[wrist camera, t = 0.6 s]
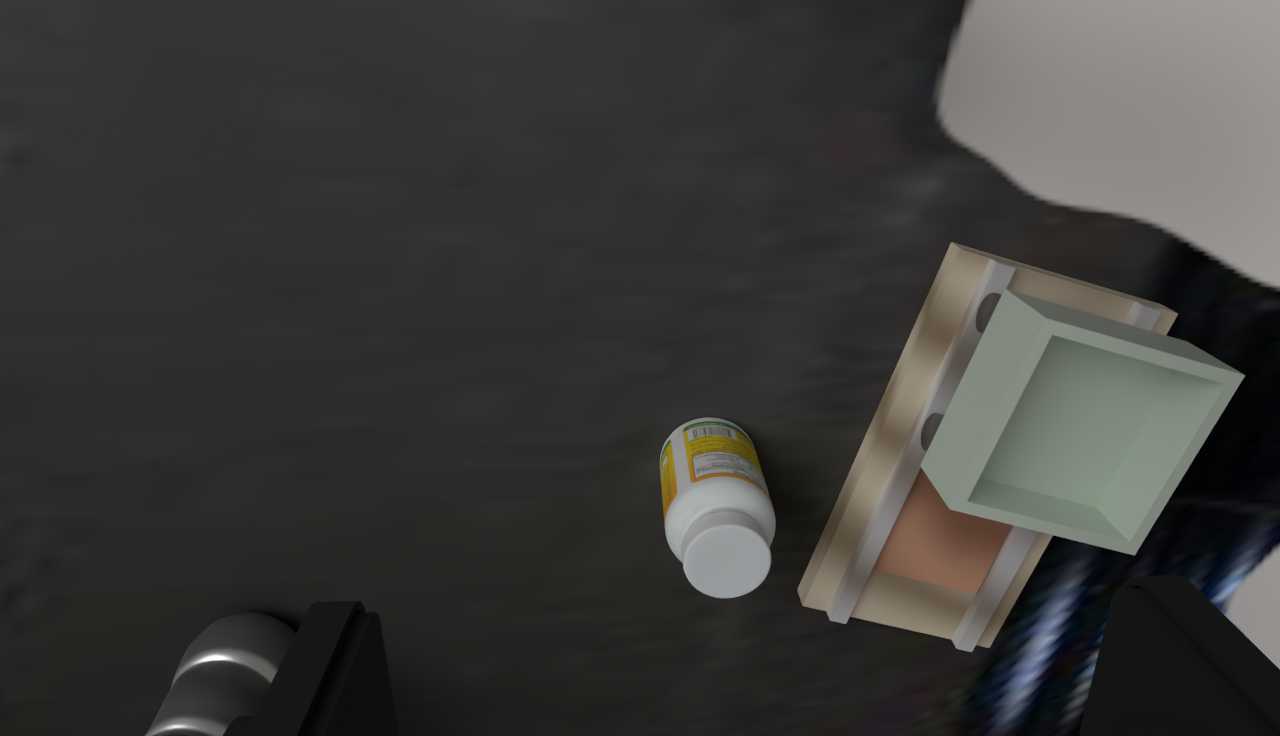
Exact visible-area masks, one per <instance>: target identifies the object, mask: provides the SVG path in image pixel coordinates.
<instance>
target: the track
mask: <svg viewBox="0 0 1280 736" xmlns="http://www.w3.org/2000/svg"><path fill="white" fill-rule="evenodd" d="M1004 289H1008V290H1011V291H1015V292H1018V293H1022V294H1025V295H1029V296H1032V297H1036V298H1039V299H1042V300H1046V301H1049V302H1053V303H1056V304H1060V305H1063V306H1067V307H1070V308H1073V309H1077V310H1080V311H1084V312H1087V313H1091V314H1094V315H1097V316H1101V317H1104V318H1108V319H1111V320H1115V321H1118V322H1122V323H1125V324H1128V325H1132V326H1135V327H1139V328H1142V329H1146V330H1149V331H1152V332H1156V333H1159V334H1163V335H1167V333H1168V331H1169V329H1170V328H1171V326H1172V324H1173V322H1174V320H1175V319H1176V317H1177V315H1178V313H1176V312H1174V311H1173V310H1171V309H1169V308H1167V307H1165V306H1163V305H1162V304H1159V303H1155V302H1152V301H1149V300H1145V299H1142V298H1139V297H1135V296H1132V295H1128V294H1125V293H1122V292H1118V291H1115V290H1112V289H1108V288H1105V287H1101V286H1098V285H1095V284H1091V283H1088V282H1085V281H1081V280H1078V279H1074V278H1071V277H1068V276H1064V275H1061V274H1058V273H1054V272H1051V271H1047V270H1044V269H1041V268H1037V267H1034V266H1031V265H1027V264H1024V263H1020V262H1017V261H1014V260H1010V259H1007V258H1004V257H1000V256H997V255H993V254H990V253H987V252H983V251H980V250H977V249H973V248H970V247H966V246H963V245H960V244H956V243H953V242H951V244H950V246H949V248H948V251H947V253H946V255H945V257H944V260H943V262H942V264H941V266H940V269H939V271H938V273H937V275H936V278H935V280H934V282H933V284H932V287H931V289H930V291H929V293H928V296H927V298H926V300H925V302H924V305H923V307H922V309H921V312H920V314H919V316H918V318H917V321H916V323H915V325H914V327H913V330H912V332H911V334H910V336H909V339H908V341H907V343H906V345H905V348H904V350H903V352H902V354H901V357H900V359H899V361H898V363H897V366H896V368H895V370H894V372H893V375H892V377H891V379H890V381H889V384H888V386H887V388H886V390H885V393H884V395H883V397H882V400H881V402H880V404H879V406H878V409H877V411H876V413H875V415H874V418H873V420H872V422H871V424H870V427H869V429H868V431H867V433H866V436H865V438H864V440H863V442H862V445H861V447H860V449H859V451H858V454H857V456H856V458H855V460H854V463H853V465H852V467H851V469H850V472H849V474H848V476H847V478H846V481H845V483H844V485H843V488H842V490H841V492H840V494H839V497H838V499H837V501H836V503H835V506H834V508H833V510H832V512H831V515H830V517H829V519H828V521H827V524H826V526H825V528H824V530H823V533H822V535H821V537H820V539H819V542H818V544H817V546H816V548H815V551H814V553H813V555H812V557H811V560H810V562H809V564H808V567H807V569H806V571H805V573H804V576H803V578H802V580H801V582H800V585H799V587H798V589H797V590H798V593H799V596H800V600H801V603H802V606H805V607H810V608H814V609H819V610H823V611H827V614H828V617H829V620H830V621H835V622H839V623H844V624H846V623H847V621H848V619H849V617H854V618H859V619H863V620H868V621H872V622H876V623H881V624H885V625H890V626H894V627H899V628H903V629H907V630H912V631H916V632H921V633H925V634H930V635H934V636H939V637H943V638H947V639H952V641H953V643H954V645H955V647H956V649H960V650H964V651H969V652H972V651H973V649H974V648H975V646H976V645H979V646H983V647H987V648H990V646H991V644H992V642H993V641H994V639H995V637H996V635H997V634H998V632H999V630H1000V628H1001V626H1002V625H1003V623H1004V621H1005V619H1006V618H1007V616H1008V614H1009V612H1010V611H1011V609H1012V607H1013V605H1014V603H1015V602H1016V600H1017V598H1018V596H1019V595H1020V593H1021V591H1022V589H1023V588H1024V586H1025V584H1026V582H1027V580H1028V579H1029V577H1030V575H1031V573H1032V572H1033V570H1034V568H1035V566H1036V565H1037V563H1038V561H1039V559H1040V557H1041V556H1042V554H1043V552H1044V550H1045V549H1046V547H1047V545H1048V543H1049V542H1050V540H1051V538H1052V536H1053V535H1051V534H1047V533H1043V532H1038V531H1034V530H1030V529H1026V528H1022V527H1018V526H1014V525H1010V524H1006V523H1002V522H998V521H994V520H990V519H986V518H982V517H978V516H974V515H970V514H966V513H962V512H958V511H954V510H950V509H949V508H948V506H947V505H946V503H945V502H944V500H943V499H942V497H941V496H940V495H939V493H938V492H937V490H936V489H935V487H934V486H933V484H932V483H931V481H930V480H929V478H928V477H927V475H926V474H925V472H924V471H923V469H922V468H921V466H920V465H921V463H922V461H923V459H924V457H925V455H926V453H927V452H926V451H924V450H923V448H922V446H921V432H922V428H923V425H924V423H925V421H926V419H927V418H928V417H929V416H930V415H931V414H933V413H938V414H942V415H945V413H946V411H947V409H948V407H949V405H950V402H951V400H952V398H953V396H954V394H955V392H956V390H957V388H958V386H959V384H960V381H961V379H962V377H963V375H964V373H965V371H966V369H967V367H968V365H969V363H970V361H971V358H972V356H973V354H974V352H975V350H976V348H977V346H978V344H979V342H980V340H981V338H982V335H983V333H980V332H978V330H977V328H976V314H977V311H978V308H979V306H980V304H981V302H982V301H983V299H984V298H985V297H986V296H987V295H988V294H990V293H993V292H994V293H998V294H1001V295H1002V294H1003V291H1004Z"/></svg>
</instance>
